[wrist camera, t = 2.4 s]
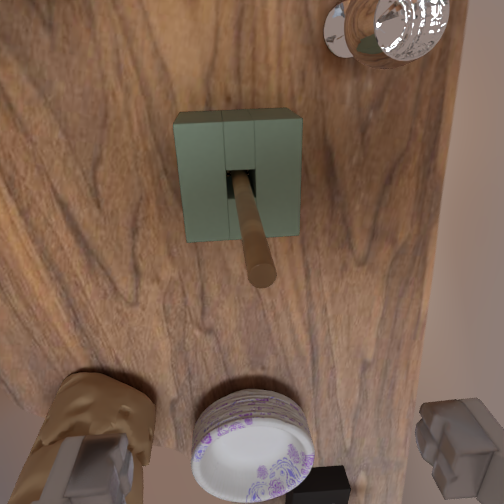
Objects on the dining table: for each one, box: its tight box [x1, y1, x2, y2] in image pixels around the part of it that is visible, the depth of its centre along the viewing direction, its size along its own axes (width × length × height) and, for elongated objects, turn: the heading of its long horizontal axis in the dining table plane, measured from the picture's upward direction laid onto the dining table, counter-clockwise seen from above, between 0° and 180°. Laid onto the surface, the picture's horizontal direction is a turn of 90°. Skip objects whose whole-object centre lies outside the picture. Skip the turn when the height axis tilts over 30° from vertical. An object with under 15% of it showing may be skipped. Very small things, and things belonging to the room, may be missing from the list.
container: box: [8, 372, 156, 504], centre depth 43 cm, size 13×13×18 cm
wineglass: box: [324, 0, 449, 69], centre depth 28 cm, size 6×6×12 cm
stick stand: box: [173, 108, 303, 243], centre depth 35 cm, size 10×10×7 cm
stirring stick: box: [230, 170, 277, 288], centre depth 28 cm, size 1×1×22 cm
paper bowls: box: [191, 389, 315, 503], centre depth 51 cm, size 15×15×8 cm
